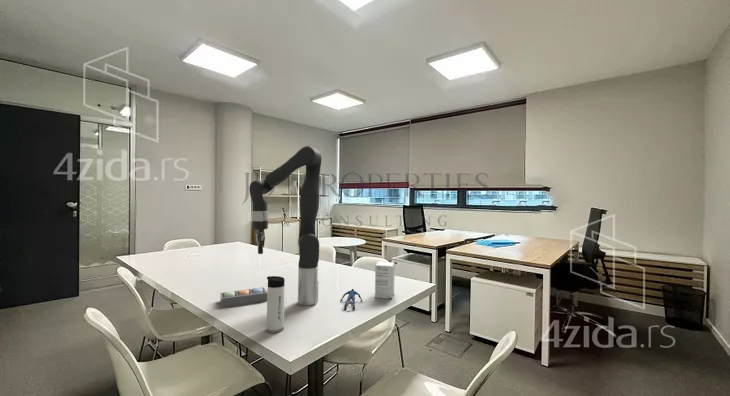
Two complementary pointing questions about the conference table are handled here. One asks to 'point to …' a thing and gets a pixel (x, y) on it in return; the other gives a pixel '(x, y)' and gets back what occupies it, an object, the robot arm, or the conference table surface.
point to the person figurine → (351, 296)
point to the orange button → (243, 292)
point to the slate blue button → (257, 290)
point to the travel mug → (275, 304)
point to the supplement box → (384, 279)
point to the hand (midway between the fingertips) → (260, 253)
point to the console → (243, 298)
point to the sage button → (229, 294)
